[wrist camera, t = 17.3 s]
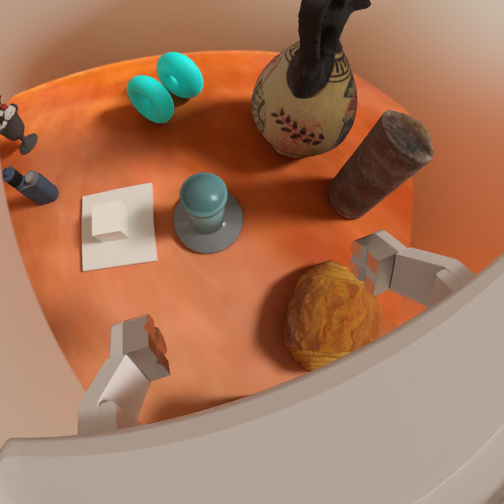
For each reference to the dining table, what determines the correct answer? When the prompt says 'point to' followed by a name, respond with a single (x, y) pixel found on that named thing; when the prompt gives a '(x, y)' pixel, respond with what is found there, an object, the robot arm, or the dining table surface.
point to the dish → (210, 241)
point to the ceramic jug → (309, 84)
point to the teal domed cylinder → (204, 201)
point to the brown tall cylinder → (380, 164)
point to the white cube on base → (118, 228)
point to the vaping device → (31, 185)
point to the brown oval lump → (330, 316)
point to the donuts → (165, 87)
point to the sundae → (15, 127)
